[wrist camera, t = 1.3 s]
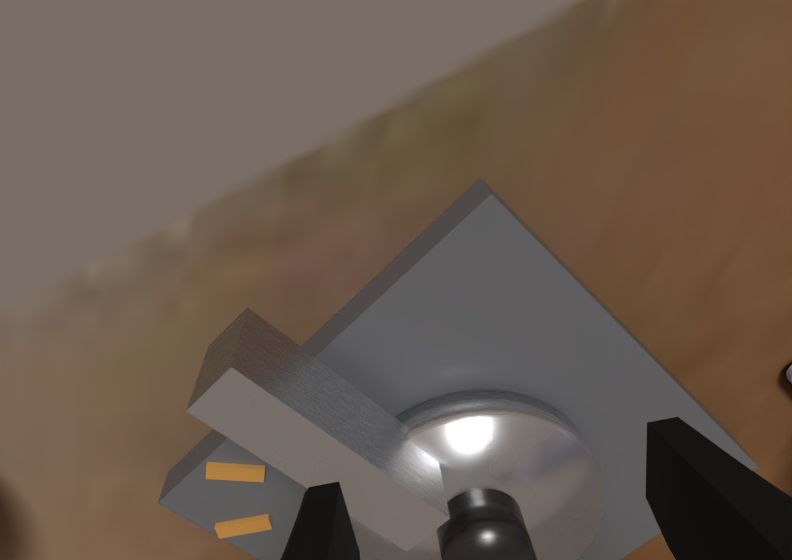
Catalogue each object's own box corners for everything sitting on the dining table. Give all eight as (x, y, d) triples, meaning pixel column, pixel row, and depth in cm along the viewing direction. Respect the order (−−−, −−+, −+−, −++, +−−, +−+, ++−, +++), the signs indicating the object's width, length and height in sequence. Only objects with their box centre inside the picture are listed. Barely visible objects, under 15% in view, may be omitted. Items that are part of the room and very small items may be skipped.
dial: (637, 478, 23) (687, 564, 20) (461, 601, 26) (480, 697, 22) (332, 212, 18) (331, 269, 14) (143, 402, 20) (103, 492, 17)
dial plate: (736, 440, 25) (761, 470, 24) (427, 653, 30) (432, 689, 28) (481, 178, 19) (492, 196, 18) (144, 494, 24) (131, 530, 22)
